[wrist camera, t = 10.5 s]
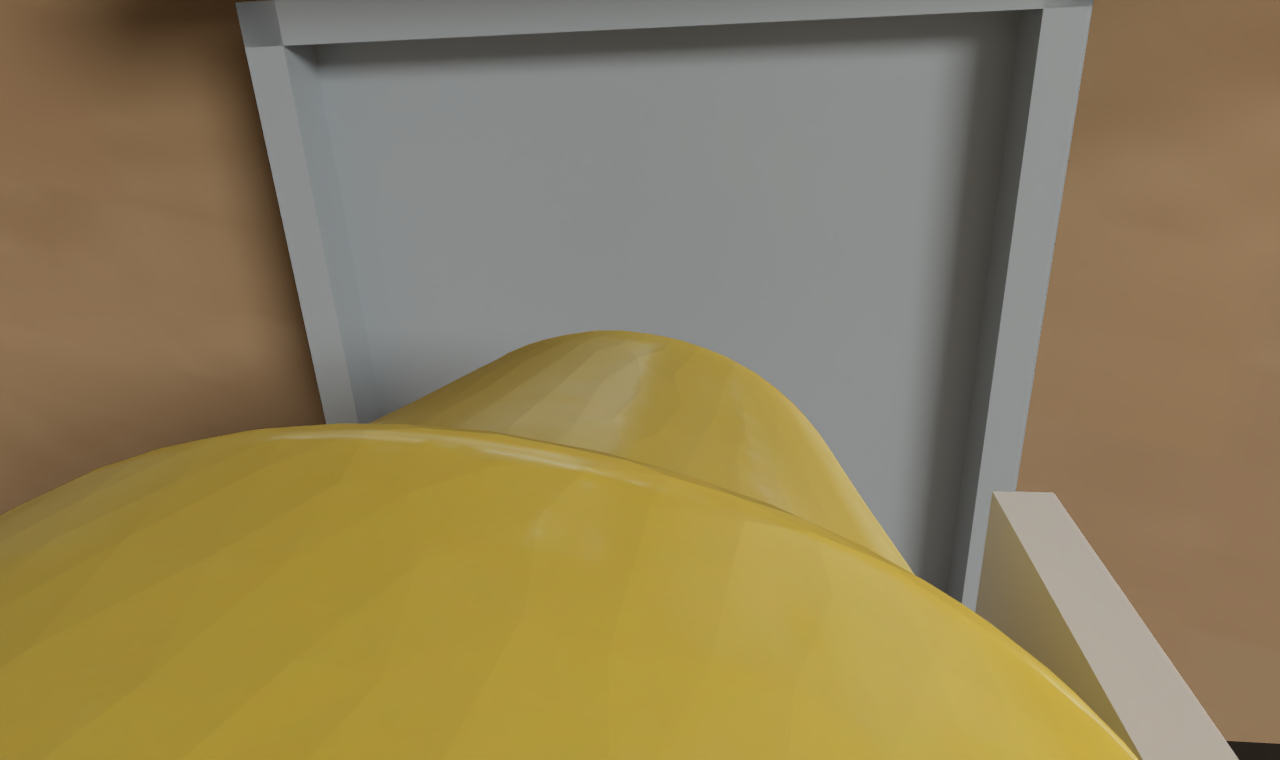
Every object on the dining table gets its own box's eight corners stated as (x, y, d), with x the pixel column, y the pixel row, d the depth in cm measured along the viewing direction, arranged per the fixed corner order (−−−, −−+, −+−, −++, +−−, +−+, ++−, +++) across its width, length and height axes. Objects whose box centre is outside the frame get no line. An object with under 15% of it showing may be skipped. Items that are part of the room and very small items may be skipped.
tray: (403, 599, 23) (374, 648, 21) (288, 5, 17) (234, 2, 15) (965, 621, 21) (986, 676, 20) (1057, -37, 15) (1100, -47, 14)
